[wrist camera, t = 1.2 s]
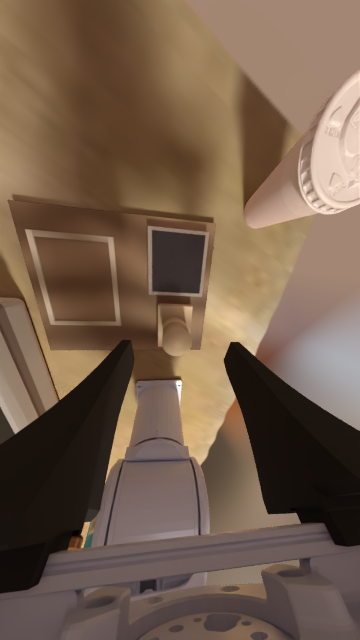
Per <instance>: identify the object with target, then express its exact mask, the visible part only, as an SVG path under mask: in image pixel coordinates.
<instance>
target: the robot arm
mask: <svg viewBox="0 0 360 640" xmlns="http://www.w3.org/2000/svg"><path fill="white" fill-rule="evenodd" d="M224 364H225V368H226V372H227V375H228V377H229V380H230V383H231V385H232V388H233V390H234V393H235V395H236V398H237V400H238V403H239V405H240V408H241V411H242V414H243V417H244V421H245V424H246V428H247V432H248V435H249V439H250V443H251V447H252V451H253V455H254V459H255V463H256V468H257V472H258V477H259V481H260V486H261V491H262V497H263V501H264V504H265V506H266V510H267V513H268V514H285V513H297V515H298V517H299V520H300V522H301V524H293V525H284V526H276V527H267V528H258V529H249V530H240V531H232V532H223V533H213V534H209V528H210V523H209V505H208V496H207V490H206V484H205V480H204V476H203V472H202V469H201V467H200V465H199V464H198V462H197V460H196V459H195V458H194V457H189V450H188V446H184V441H183V432H182V423H181V414H180V401H181V389H182V381H181V380H150V381H137V382H136V394H137V411H136V416H135V420H134V425H133V430H132V435H131V440H130V445H129V447H127V450H126V454H125V459H118V461H117V462H116V463H115V465H114V466H113V467H112V468H111V470H110V473H109V475H108V478H107V482H106V485H105V480H106V474H107V469H108V464H109V459H110V454H111V449H112V444H113V440H114V435H115V430H116V426H117V422H118V417H119V413H120V410H121V406H122V403H123V400H124V397H125V393H126V390H127V387H128V384H129V381H130V378H131V374H132V370H133V365H134V353H133V347H132V341H131V340H121V341H120V342H119V344H118V345H117V346H116V347H115V348H114V349H113V350H112V352H111V353H110V354H109V355H108V356H107V357H106V358H105V359H104V360H103V361H102V362H101V363H100V364H99V365H98V367H97V368H95V369H94V370H93V371H92V372H91V373H90V374H89V375H88V376H87V377H86V378H85V379H84V380H83V381H82V382H81V383H80V384H79V385H78V386H76V387H75V388H74V389H73V390H72V391H71V392H69V393H68V394H67V395H66V396H65V397H63V398H62V399H61V400H60V401H59V402H57V403H56V404H55V405H54V406H52V407H51V408H50V409H49V410H47V411H46V412H45V413H43V414H42V415H41V416H39V417H38V418H37V419H35V420H34V421H33V422H31V423H30V424H28V425H27V426H26V427H24V428H23V429H22V430H20V431H19V432H17V433H16V434H15V435H13V436H12V437H10V438H9V439H8V440H6V441H5V442H3V443H2V444H0V640H360V431H359V430H356V429H355V428H353V427H352V426H350V425H348V424H347V423H345V422H343V421H342V420H340V419H338V418H337V417H335V416H334V415H332V414H330V413H329V412H327V411H326V410H324V409H322V408H321V407H319V406H318V405H316V404H315V403H313V402H312V401H310V400H309V399H307V398H306V397H305V396H303V395H302V394H300V393H299V392H297V391H296V390H295V389H293V388H292V387H291V386H289V385H288V384H287V383H285V382H284V381H283V380H282V379H280V378H279V377H278V376H277V375H275V374H274V373H273V372H272V371H271V370H269V369H268V368H267V367H266V366H265V365H264V364H262V363H261V362H260V361H259V360H258V359H257V358H256V357H255V356H254V355H253V354H251V353H250V352H249V351H248V350H247V349H246V348H245V347H244V346H243V345H242V344H240V343H239V342H231V343H230V346H229V348H228V351H227V353H226V356H225V358H224ZM179 384H180V385H179ZM104 486H105V488H104ZM103 491H104V492H103ZM97 514H98V515H97ZM96 515H97V519H96V524H95V528H94V533H93V538H92V544H91V547H89V548H80V549H71V550H68V547H69V544H70V541H71V537H72V536H77V535H81V532H82V529H83V526H84V522H91V521H92V520H93V519H94V518H95V517H96ZM297 559H299V561H300V567H297V566H292V565H288V564H275V565H272V566H270V567H268V568H265V569H263V570H262V572H261V575H262V579H263V583H258V584H235V585H213V586H206V579H207V572H211V571H218V570H224V569H232V568H239V567H246V566H254V565H261V564H268V563H276V562H282V561H290V560H297ZM83 589H85V593H84V590H83Z"/></svg>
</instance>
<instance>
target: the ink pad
mask: <svg viewBox="0 0 360 640" xmlns="http://www.w3.org/2000/svg"><path fill="white" fill-rule="evenodd" d="M208 239H209V232H202V231H193V230H183V229H174V228H164V227H154V226H148V286H149V295H172V296H194V297H202V292H203V283H204V274H205V265H206V257H207V248H208Z"/></svg>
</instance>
